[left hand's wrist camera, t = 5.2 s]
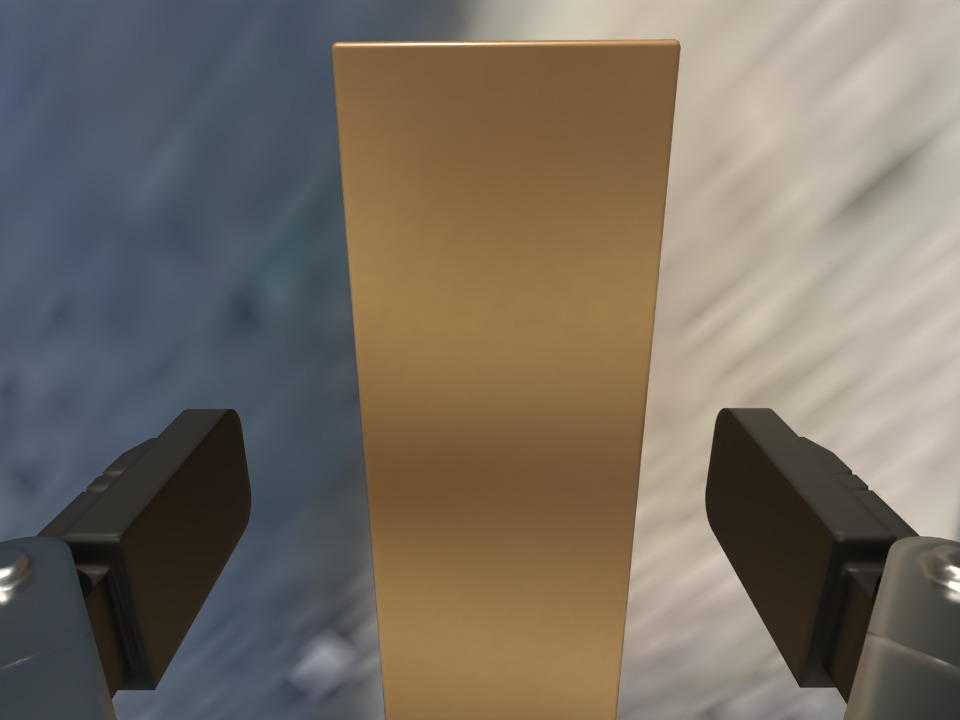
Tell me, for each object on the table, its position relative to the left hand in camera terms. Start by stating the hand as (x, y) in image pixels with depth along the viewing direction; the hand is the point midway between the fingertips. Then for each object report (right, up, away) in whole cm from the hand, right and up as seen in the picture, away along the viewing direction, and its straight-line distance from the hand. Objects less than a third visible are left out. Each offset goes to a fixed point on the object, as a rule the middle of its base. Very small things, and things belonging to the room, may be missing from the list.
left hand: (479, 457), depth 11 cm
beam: (+1, -19, +15) cm, 25 cm away
